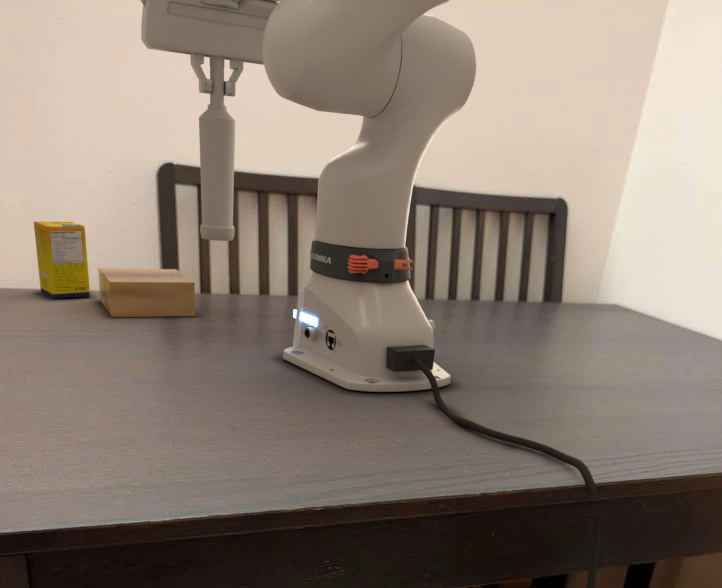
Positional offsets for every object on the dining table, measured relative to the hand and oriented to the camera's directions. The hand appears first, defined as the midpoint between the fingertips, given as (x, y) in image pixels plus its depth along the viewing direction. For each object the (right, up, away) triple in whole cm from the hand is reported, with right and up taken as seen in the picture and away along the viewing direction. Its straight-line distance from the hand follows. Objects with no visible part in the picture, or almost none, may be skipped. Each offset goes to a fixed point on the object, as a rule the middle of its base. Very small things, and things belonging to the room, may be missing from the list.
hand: (217, 94), depth 104 cm
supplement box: (-27, -25, +13) cm, 39 cm away
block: (-13, -28, +8) cm, 32 cm away
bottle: (-2, -18, +8) cm, 20 cm away
